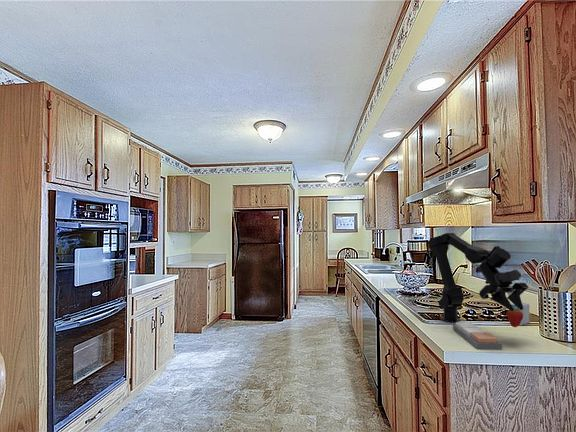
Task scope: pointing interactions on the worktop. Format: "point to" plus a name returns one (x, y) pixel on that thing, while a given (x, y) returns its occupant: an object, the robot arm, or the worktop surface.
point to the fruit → (514, 317)
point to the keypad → (468, 328)
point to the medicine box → (524, 313)
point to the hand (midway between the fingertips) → (517, 309)
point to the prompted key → (483, 338)
